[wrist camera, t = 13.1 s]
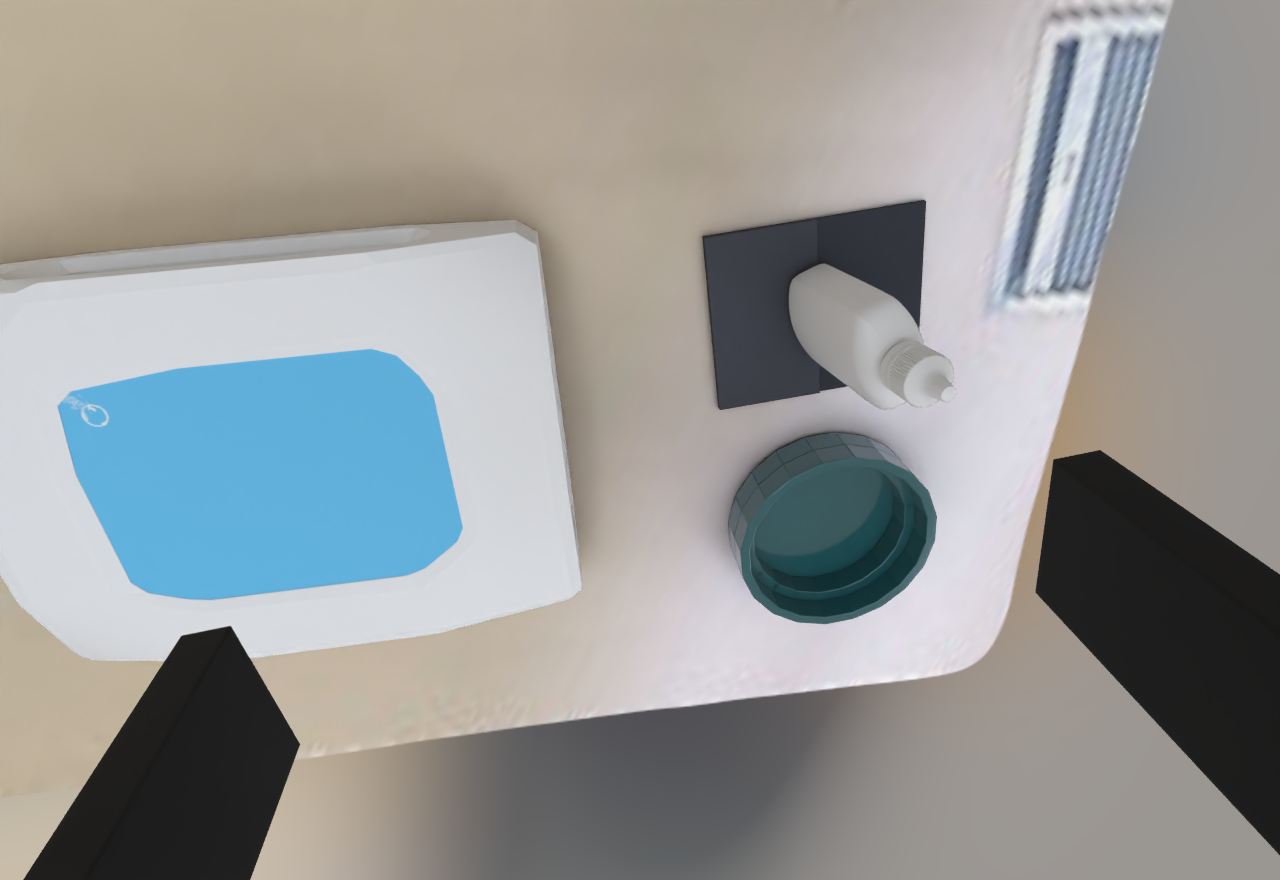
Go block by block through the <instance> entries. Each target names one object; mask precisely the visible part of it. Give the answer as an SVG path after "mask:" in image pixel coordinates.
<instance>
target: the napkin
mask: <svg viewBox="0 0 1280 880" xmlns="http://www.w3.org/2000/svg"><path fill="white" fill-rule="evenodd" d="M925 211H926V201H924V200H921V201H915V202H909V203H903V204H897V205H891V206H885V207H879V208H873V209H867V210H861V211H855V212H848V213H842V214H836V215H830V216H824V217H818V218H812V219H806V220H800V221H794V222H788V223H782V224H776V225H770V226H763V227H757V228H751V229H745V230H739V231H733V232H727V233H721V234H715V235H709V236H703V247H704V258H705V269H706V279H707V290H708V301H709V312H710V323H711V334H712V344H713V355H714V366H715V377H716V388H717V399H718V407H719V409H720V410H723V409H729V408H735V407H740V406H746V405H752V404H758V403H763V402H769V401H775V400H781V399H786V398H792V397H798V396H803V395H809V394H815V393H820V391H823V390H828V389H834V388H840V387H846V386H847V385H846V384H844V383H843V382H842V381H840V380H839V379H838V378H836V377H835V376H834V375H832V374H831V373H830V372H829V371H827V370H826V369H825V368H823V367H822V366H821V365H819V364H818V363H817V362H816V361H815V360H813V359H812V358H811V357H810V356H809V354H808V353H807V352H806V351H805V350H804V348H803V347H802V345H801V344H800V342H799V340H798V338H797V336H796V334H795V332H794V329H793V326H792V323H791V318H790V312H789V289H790V284H791V282H792V279H793V278H795V277H796V276H797V275H799V274H800V273H802V272H804V271H806V270H808V269H810V268H812V267H814V266H817V265H819V264H827V265H830V266H832V267H834V268H836V269H838V270H840V271H842V272H844V273H846V274H848V275H851V276H853V277H855V278H857V279H859V280H861V281H863V282H865V283H867V284H869V285H871V286H873V287H875V288H877V289H879V290H881V291H883V292H885V293H887V294H889V295H891V296H892V297H894V298H895V299H897V300H898V301H899V302H900V303H901V304H902V305H903V306H904V307H905V308H906V310H907V311H908V312H909V313H910V315H911V316H912V318H913V319H914V321H915V323H916V324H917V326H918V328H919V323H920V304H921V286H922V267H923V248H924V229H925Z"/></svg>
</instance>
